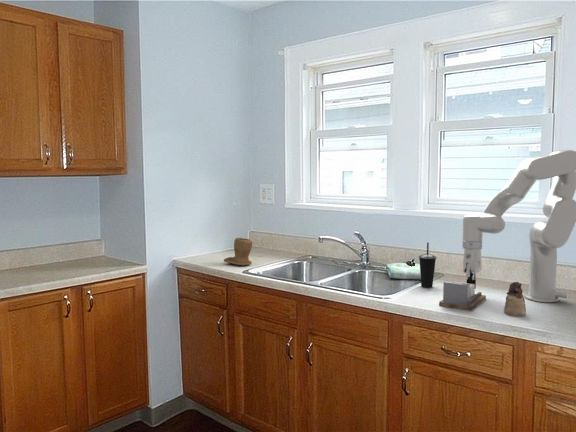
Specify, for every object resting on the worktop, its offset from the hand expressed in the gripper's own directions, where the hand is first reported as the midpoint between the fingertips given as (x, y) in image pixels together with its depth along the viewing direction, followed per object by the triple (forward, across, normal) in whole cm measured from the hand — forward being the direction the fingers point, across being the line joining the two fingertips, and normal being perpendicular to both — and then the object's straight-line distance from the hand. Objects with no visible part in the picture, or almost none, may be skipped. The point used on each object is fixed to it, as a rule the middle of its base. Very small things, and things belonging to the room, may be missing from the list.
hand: (471, 288), depth 200 cm
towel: (+4, +23, +38) cm, 44 cm away
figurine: (+4, -14, -20) cm, 24 cm away
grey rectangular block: (+2, -18, 0) cm, 18 cm away
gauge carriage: (+2, -10, +1) cm, 10 cm away
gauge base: (+4, -10, 0) cm, 10 cm away
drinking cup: (+4, +6, +21) cm, 22 cm away
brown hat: (+3, -5, +124) cm, 124 cm away
